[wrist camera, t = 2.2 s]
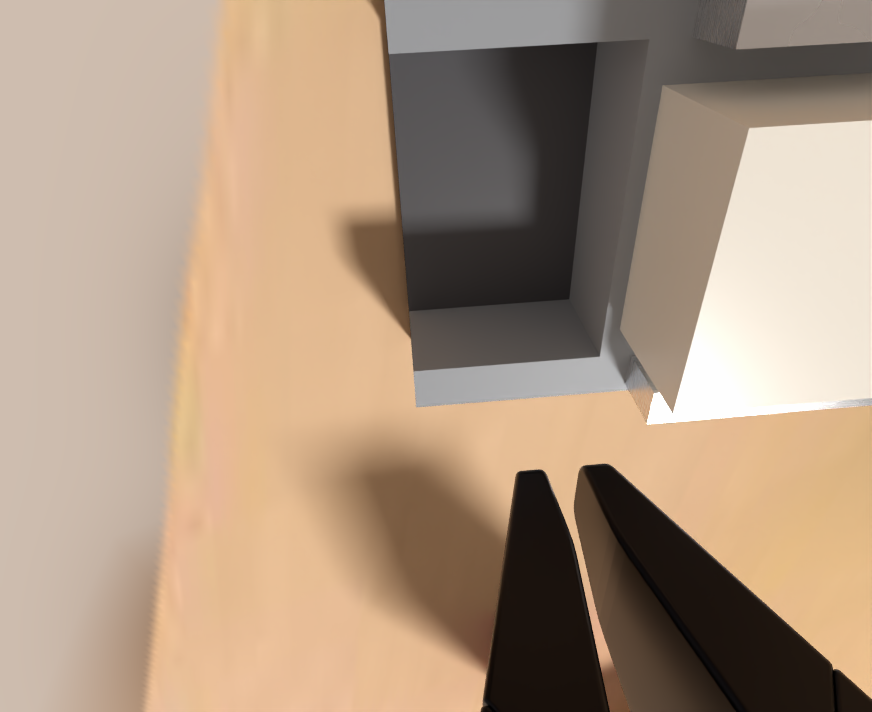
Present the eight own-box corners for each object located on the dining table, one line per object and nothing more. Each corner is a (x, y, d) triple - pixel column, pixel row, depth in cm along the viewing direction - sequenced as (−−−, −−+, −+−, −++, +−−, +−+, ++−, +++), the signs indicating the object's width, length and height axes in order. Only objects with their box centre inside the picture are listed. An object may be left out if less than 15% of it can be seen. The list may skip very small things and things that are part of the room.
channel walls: (1138, -49, 13) (1247, -48, 11) (913, 360, 20) (961, 397, 18) (704, -26, 12) (752, -22, 11) (625, 383, 19) (647, 424, 18)
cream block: (942, 68, 14) (1110, 105, 11) (837, 312, 18) (936, 392, 15) (662, 85, 14) (749, 127, 11) (619, 329, 18) (672, 414, 15)
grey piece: (1161, -71, 16) (1357, -76, 13) (954, 298, 23) (1047, 356, 20) (382, -32, 15) (382, -26, 12) (411, 340, 22) (416, 407, 19)
